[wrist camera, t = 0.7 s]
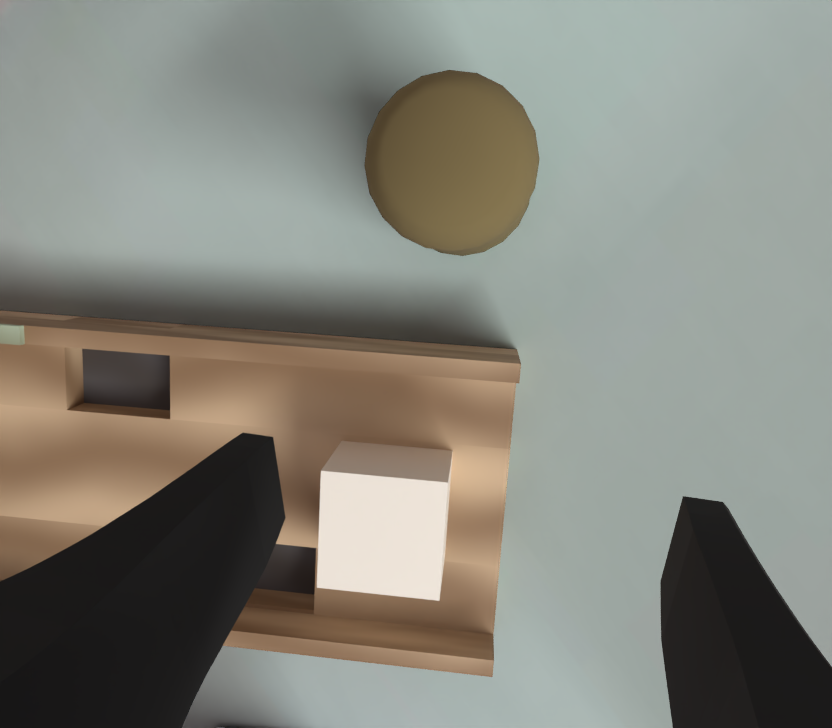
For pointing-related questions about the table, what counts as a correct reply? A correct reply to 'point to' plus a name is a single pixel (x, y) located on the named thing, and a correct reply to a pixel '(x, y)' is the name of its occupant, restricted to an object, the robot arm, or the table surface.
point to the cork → (452, 162)
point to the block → (384, 519)
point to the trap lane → (295, 452)
